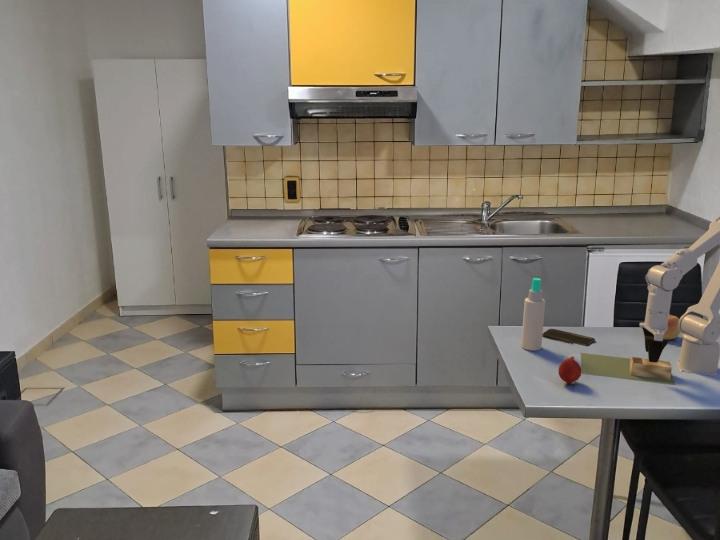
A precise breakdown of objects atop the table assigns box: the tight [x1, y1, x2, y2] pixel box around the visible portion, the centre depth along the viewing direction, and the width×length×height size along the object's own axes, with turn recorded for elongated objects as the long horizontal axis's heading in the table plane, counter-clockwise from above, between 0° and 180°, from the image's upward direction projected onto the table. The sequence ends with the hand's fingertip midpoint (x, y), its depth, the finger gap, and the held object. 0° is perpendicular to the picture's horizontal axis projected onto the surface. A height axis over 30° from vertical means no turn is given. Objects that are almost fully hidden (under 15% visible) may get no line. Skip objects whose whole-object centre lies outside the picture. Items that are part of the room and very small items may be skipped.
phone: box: [542, 328, 596, 347], centre depth 207 cm, size 8×1×15 cm
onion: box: [557, 355, 582, 385], centre depth 173 cm, size 6×6×8 cm
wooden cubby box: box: [629, 356, 673, 380], centre depth 179 cm, size 10×4×4 cm, turn 73°
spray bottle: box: [520, 277, 546, 352], centre depth 196 cm, size 6×6×22 cm
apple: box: [663, 314, 681, 341], centre depth 207 cm, size 9×9×8 cm
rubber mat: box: [580, 352, 677, 386], centre depth 183 cm, size 24×16×1 cm, turn 73°
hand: (651, 356), depth 178 cm, fingers open, 7 cm apart
